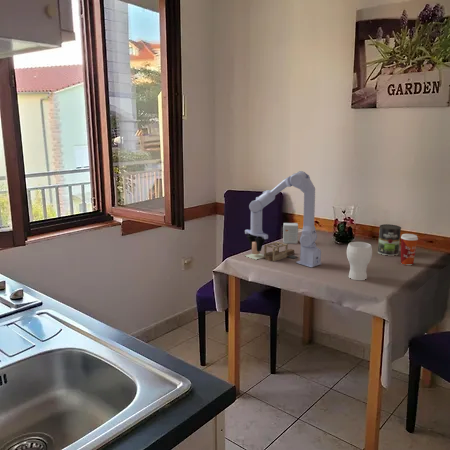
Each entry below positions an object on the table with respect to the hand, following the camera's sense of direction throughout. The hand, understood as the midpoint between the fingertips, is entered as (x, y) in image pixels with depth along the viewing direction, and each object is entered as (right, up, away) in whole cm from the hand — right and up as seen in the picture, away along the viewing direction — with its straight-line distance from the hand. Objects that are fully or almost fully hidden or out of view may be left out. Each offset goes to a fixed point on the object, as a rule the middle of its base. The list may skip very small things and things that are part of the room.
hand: (256, 250), depth 229 cm
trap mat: (+18, -4, 0) cm, 19 cm away
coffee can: (+68, -2, +6) cm, 69 cm away
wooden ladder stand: (+10, -4, -1) cm, 11 cm away
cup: (+43, -11, -29) cm, 53 cm away
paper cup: (+71, -6, -11) cm, 73 cm away
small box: (+21, +3, +26) cm, 34 cm away
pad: (0, -3, +1) cm, 3 cm away
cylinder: (0, -2, 0) cm, 2 cm away
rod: (+12, -4, +1) cm, 13 cm away
